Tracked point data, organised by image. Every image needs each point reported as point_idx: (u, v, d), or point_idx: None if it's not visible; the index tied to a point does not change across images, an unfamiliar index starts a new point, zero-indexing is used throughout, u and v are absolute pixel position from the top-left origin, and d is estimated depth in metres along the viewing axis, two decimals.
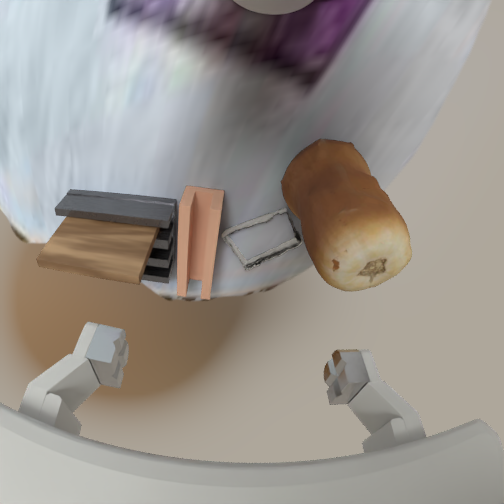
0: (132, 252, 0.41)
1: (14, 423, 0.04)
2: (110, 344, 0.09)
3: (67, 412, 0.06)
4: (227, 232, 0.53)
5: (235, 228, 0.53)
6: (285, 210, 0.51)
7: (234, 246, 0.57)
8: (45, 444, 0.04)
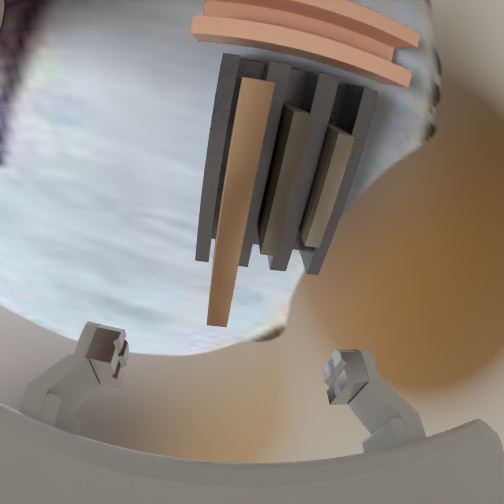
0: None
1: (14, 423, 0.04)
2: (110, 344, 0.09)
3: (67, 412, 0.06)
4: None
5: None
6: None
7: None
8: (45, 444, 0.04)
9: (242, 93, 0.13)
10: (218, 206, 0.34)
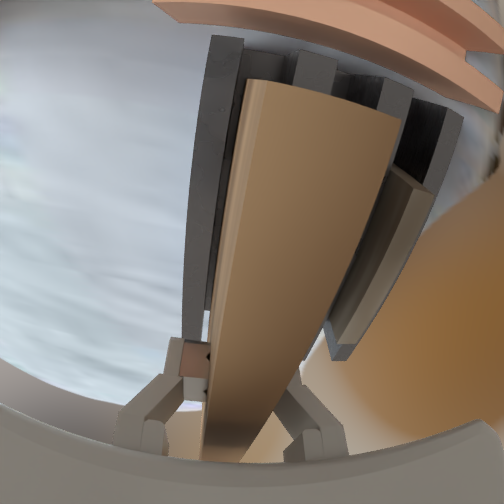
0: (237, 158, 0.08)
1: (14, 423, 0.04)
2: (203, 359, 0.09)
3: (165, 436, 0.07)
4: None
5: None
6: None
7: None
8: (45, 444, 0.04)
9: (257, 160, 0.03)
10: (212, 272, 0.24)
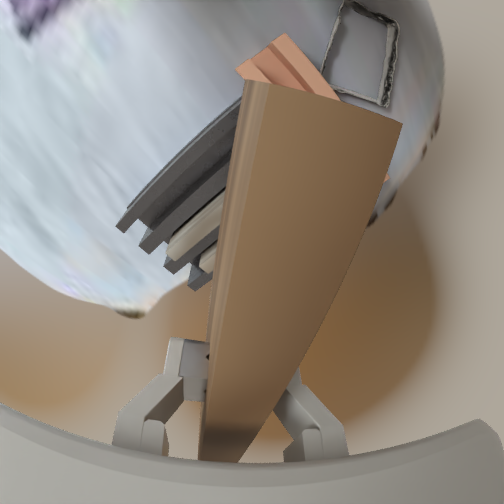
0: (237, 159, 0.08)
1: (14, 423, 0.04)
2: (203, 359, 0.09)
3: (165, 436, 0.07)
4: None
5: (323, 64, 0.29)
6: (343, 2, 0.24)
7: (347, 90, 0.31)
8: (45, 444, 0.04)
9: (259, 162, 0.03)
10: None
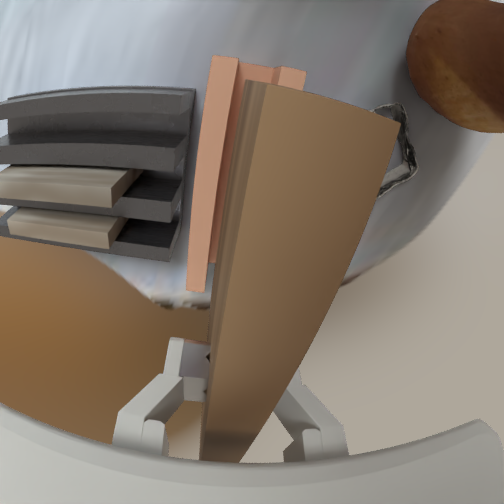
0: (236, 160, 0.08)
1: (14, 423, 0.04)
2: (203, 359, 0.09)
3: (165, 436, 0.07)
4: None
5: None
6: (392, 104, 0.23)
7: None
8: (45, 444, 0.04)
9: (257, 163, 0.03)
10: None
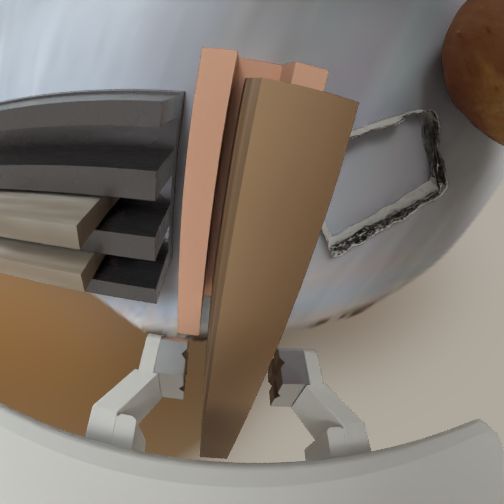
0: (238, 144, 0.09)
1: (14, 423, 0.04)
2: (179, 356, 0.09)
3: (139, 431, 0.07)
4: None
5: None
6: (422, 110, 0.18)
7: None
8: (45, 444, 0.04)
9: (255, 131, 0.04)
10: None
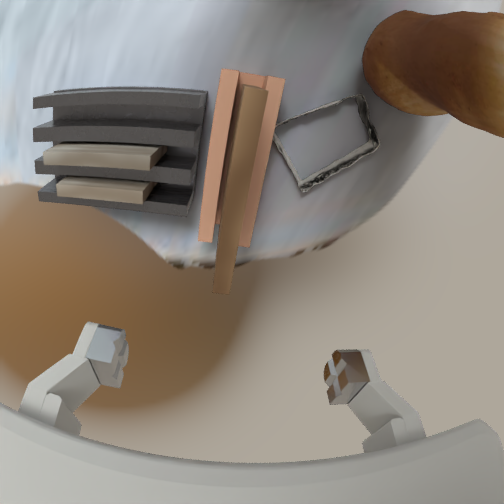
0: (239, 110, 0.22)
1: (14, 423, 0.04)
2: (110, 344, 0.09)
3: (67, 412, 0.06)
4: (277, 124, 0.34)
5: (289, 119, 0.33)
6: (356, 95, 0.31)
7: (285, 153, 0.37)
8: (45, 444, 0.04)
9: (243, 99, 0.18)
10: None
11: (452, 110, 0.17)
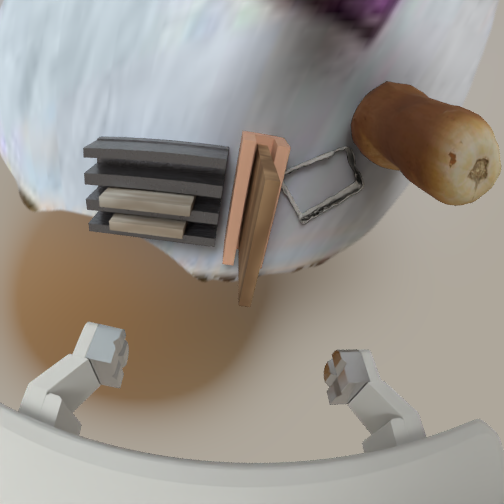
0: (258, 183, 0.34)
1: (14, 423, 0.04)
2: (110, 344, 0.09)
3: (67, 412, 0.06)
4: None
5: (292, 169, 0.45)
6: (346, 147, 0.43)
7: (289, 194, 0.49)
8: (45, 444, 0.04)
9: (264, 187, 0.30)
10: None
11: (410, 181, 0.29)
